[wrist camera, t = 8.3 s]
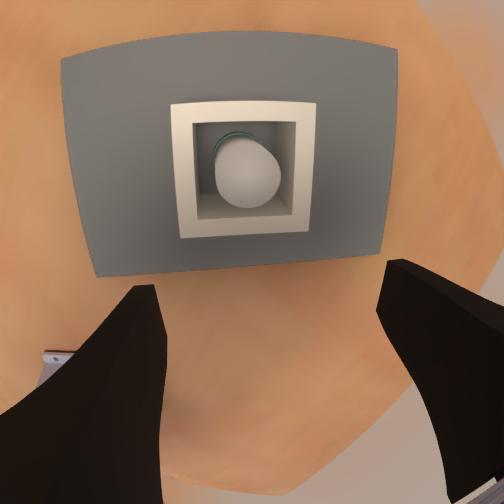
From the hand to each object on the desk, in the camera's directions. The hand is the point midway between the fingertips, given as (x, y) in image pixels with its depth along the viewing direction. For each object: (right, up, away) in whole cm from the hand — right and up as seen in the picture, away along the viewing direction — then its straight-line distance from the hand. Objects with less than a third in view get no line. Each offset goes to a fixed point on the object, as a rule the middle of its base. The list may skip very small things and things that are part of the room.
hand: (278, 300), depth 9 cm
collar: (-1, +6, +6) cm, 9 cm away
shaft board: (-2, +7, +7) cm, 10 cm away
